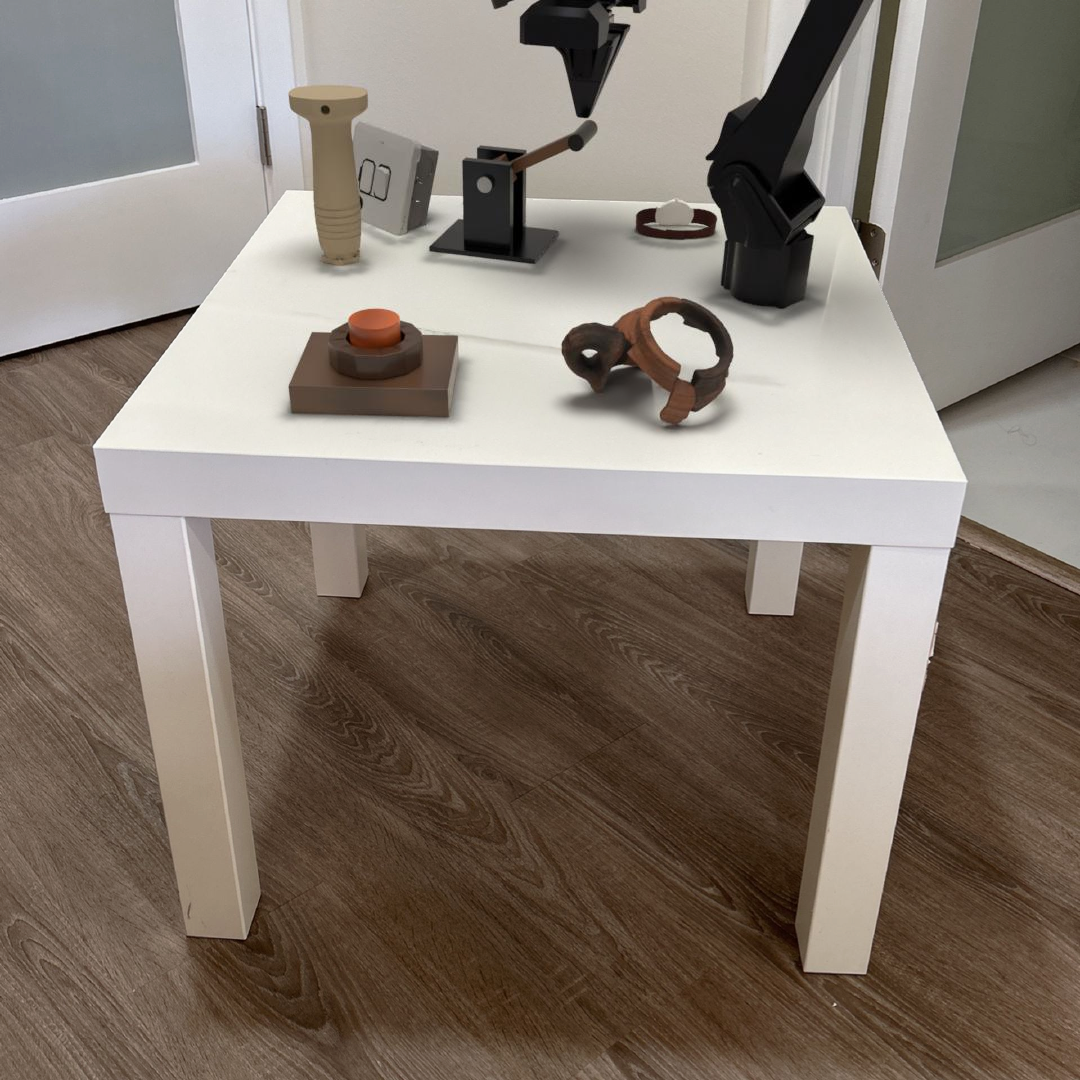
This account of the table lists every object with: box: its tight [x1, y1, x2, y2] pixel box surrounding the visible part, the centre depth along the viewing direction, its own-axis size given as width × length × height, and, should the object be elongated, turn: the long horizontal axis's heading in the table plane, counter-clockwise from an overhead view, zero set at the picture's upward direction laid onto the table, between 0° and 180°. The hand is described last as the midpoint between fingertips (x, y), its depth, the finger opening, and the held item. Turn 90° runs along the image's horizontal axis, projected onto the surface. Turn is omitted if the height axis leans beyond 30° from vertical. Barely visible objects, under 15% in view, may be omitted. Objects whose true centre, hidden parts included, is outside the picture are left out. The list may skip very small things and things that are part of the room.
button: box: [347, 308, 401, 349], centre depth 84 cm, size 4×4×2 cm
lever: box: [493, 119, 598, 182], centre depth 104 cm, size 11×5×2 cm, turn 75°
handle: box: [287, 84, 369, 267], centre depth 101 cm, size 5×6×15 cm
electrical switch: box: [352, 120, 440, 237], centre depth 112 cm, size 9×5×9 cm, turn 43°
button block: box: [288, 319, 460, 418], centre depth 85 cm, size 11×9×4 cm
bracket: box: [428, 144, 560, 265], centre depth 107 cm, size 10×8×9 cm
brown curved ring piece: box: [561, 296, 735, 426], centre depth 84 cm, size 12×10×8 cm
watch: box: [635, 197, 718, 240], centre depth 112 cm, size 8×5×4 cm, turn 91°
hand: (583, 116), depth 101 cm, fingers closed
